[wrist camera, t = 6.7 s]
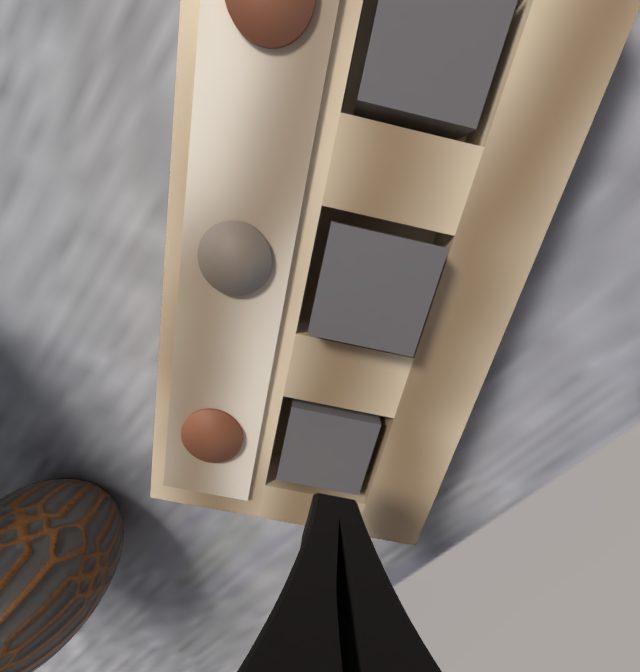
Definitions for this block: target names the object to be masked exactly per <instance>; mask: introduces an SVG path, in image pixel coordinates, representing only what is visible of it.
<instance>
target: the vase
mask: <svg viewBox="0 0 640 672" xmlns="http://www.w3.org/2000/svg"><path fill="white" fill-rule="evenodd" d="M123 538H124V531H123V523H122V518H121V515H120V512H119V510H118V507H117V505H116V503H115V502H114V500H113V499H112V497H111V496H110V495H109V494H108V493H107V492H106V491H104V490H103V489H102V488H100V487H98V486H96V485H94V484H92V483H90V482H87V481H82V480H76V479H54V480H48V481H42V482H38V483H34V484H31V485H29V486H26V487H23V488H21V489H19V490H16V491H14V492H12V493H10V494H8V495H6V496H5V497H3V498H1V499H0V672H33V671H34V670H36V669H37V668H39V667H40V666H41V665H43V664H44V663H45V662H47V661H48V660H49V659H50V658H51V657H53V656H54V655H55V654H56V653H57V652H58V651H59V650H60V649H61V648H62V647H63V646H64V645H65V644H66V643H67V642H68V641H69V640H70V639H71V638H72V637H73V636H74V635H75V634H76V633H77V631H78V630H79V629H80V628H81V627H82V626H83V624H84V623H85V622H86V621H87V619H88V618H89V617H90V615H91V614H92V613H93V611H94V610H95V608H96V607H97V605H98V604H99V602H100V600H101V599H102V597H103V595H104V593H105V592H106V590H107V588H108V586H109V584H110V582H111V580H112V578H113V576H114V573H115V571H116V568H117V565H118V562H119V559H120V555H121V551H122V546H123Z"/></svg>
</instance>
